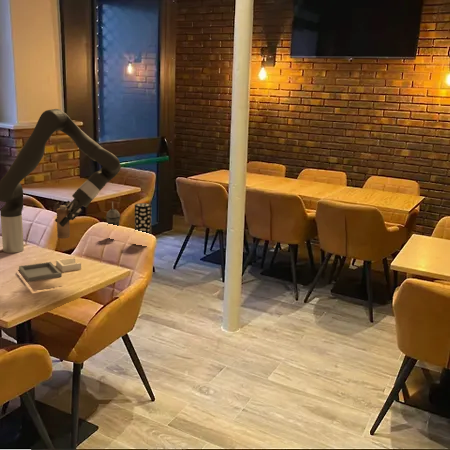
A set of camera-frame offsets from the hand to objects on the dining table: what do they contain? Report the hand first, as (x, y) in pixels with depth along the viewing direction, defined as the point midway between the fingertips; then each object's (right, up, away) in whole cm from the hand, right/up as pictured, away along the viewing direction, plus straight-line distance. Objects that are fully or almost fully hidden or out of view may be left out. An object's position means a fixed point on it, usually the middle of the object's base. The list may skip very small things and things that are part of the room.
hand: (58, 223), depth 214 cm
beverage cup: (+10, -8, +57) cm, 58 cm away
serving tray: (-7, -21, -1) cm, 23 cm away
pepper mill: (+1, -6, +3) cm, 6 cm away
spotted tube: (+27, -10, +50) cm, 58 cm away
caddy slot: (+2, -20, +7) cm, 21 cm away
